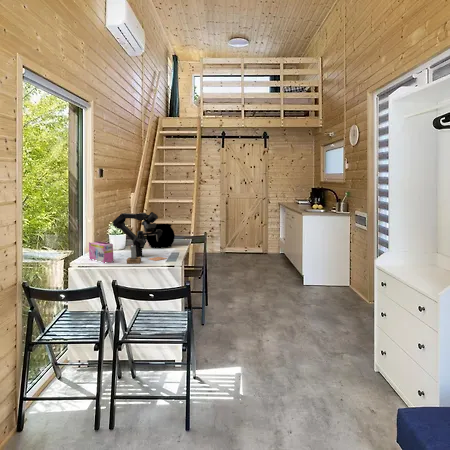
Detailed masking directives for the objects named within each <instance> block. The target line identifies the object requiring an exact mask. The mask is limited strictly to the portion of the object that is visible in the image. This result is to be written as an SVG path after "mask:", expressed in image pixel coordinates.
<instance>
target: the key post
mask: <svg viewBox="0 0 450 450" xmlns="http://www.w3.org/2000/svg"><path fill="white" fill-rule="evenodd" d="M130 257H131V259H136V245H134V244H132V245H130Z"/></svg>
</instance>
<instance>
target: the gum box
mask: <svg viewBox="0 0 450 450" xmlns="http://www.w3.org/2000/svg"><path fill="white" fill-rule="evenodd" d="M88 254H89V255H88V256H89V258H90V259H94V260H97V261H101V262H104V263H103V264H106V263H105V262H110V263H113V262H114V244H113V243H109V242H104V241H103V242H102V241H98V240H97V241H95V242H89V241H88ZM90 259H89V260H90ZM97 261H96V262H97ZM112 261H113V262H112ZM101 262H100V263H101Z"/></svg>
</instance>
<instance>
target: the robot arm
mask: <svg viewBox="0 0 450 450" xmlns="http://www.w3.org/2000/svg"><path fill="white" fill-rule="evenodd" d="M127 219H133V220H136V221H142V222H141V223H140V225H141V226H143V229H144V230H138V231H137V232H136V233H137V234H135V233H134V232H133V231H132V230H131V229H130V228H128V226H126V220H127ZM158 219H159V216H158V215H157V213H155V212H153V211H150V213H149V214H148V213H146V212H140V213H139V212H138V213H127V212H123V213H122V212H121V213H120V215H119V216H117V217H116V218H115V219H114V220H113V221H112V226H113V227H114V228H116V229H118V230H120V231H122V232H123V234H125V236H127V237H128V238H129V239H130V240H131V241H132V245H136V257H141V258H143V257H144V254H143V249H145V247H146V246H145V245H146V244H147V239H146V237H145V236H146V235H156V239H157V242H158V240H159V237H160V236H161V235H162V230H156V232H153V231H154V229H153V228H156V224H157V223H156V221H157V220H158Z"/></svg>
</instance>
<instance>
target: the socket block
mask: <svg viewBox="0 0 450 450" xmlns="http://www.w3.org/2000/svg"><path fill="white" fill-rule="evenodd" d="M141 262H142V257H136V259H131V256H130V257H129V256H128V258H127V259H126V265H128V264H129V265H132V264H133V265H134V264H135V265H136V264H140V263H141Z"/></svg>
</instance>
